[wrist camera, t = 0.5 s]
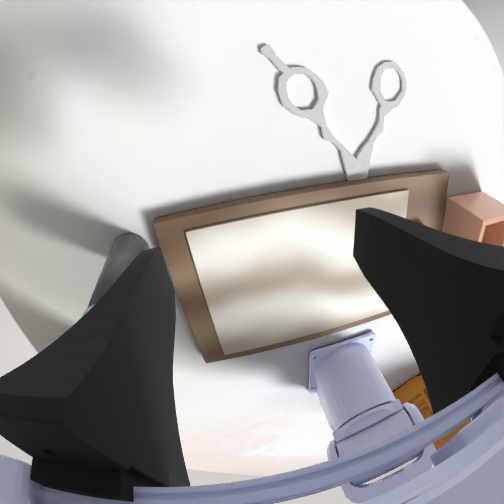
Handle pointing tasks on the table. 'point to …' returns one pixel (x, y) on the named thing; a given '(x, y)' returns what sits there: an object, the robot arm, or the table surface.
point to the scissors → (352, 165)
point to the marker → (117, 263)
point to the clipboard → (285, 260)
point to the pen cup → (475, 218)
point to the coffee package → (422, 404)
